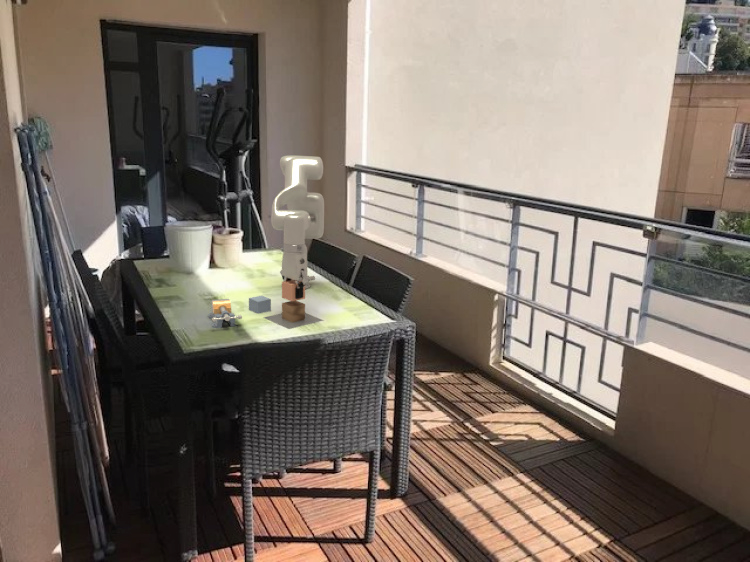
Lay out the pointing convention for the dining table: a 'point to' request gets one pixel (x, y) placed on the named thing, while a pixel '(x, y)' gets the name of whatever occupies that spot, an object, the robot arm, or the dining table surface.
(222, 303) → the vise
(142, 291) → the dining table surface
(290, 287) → the salmon orange cube
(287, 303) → the brown wooden cube
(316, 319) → the plate
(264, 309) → the slate brick
